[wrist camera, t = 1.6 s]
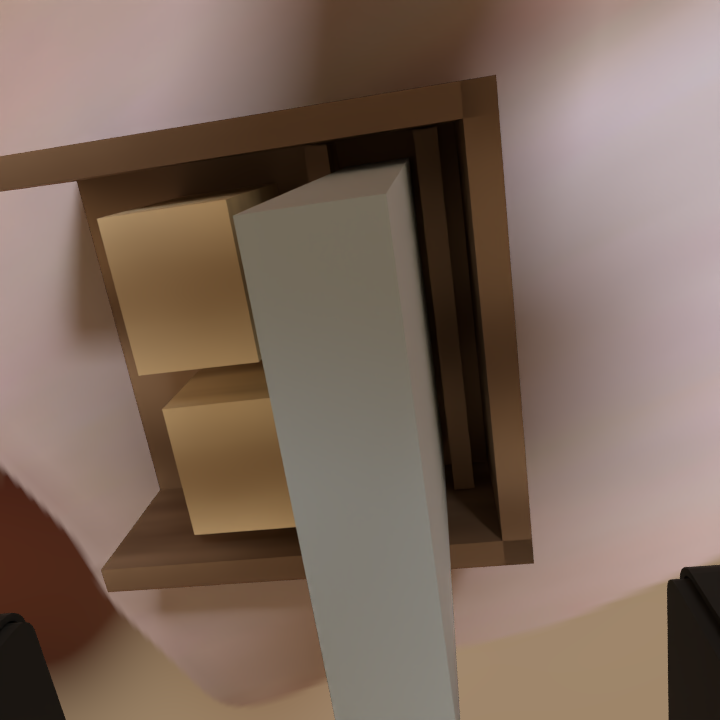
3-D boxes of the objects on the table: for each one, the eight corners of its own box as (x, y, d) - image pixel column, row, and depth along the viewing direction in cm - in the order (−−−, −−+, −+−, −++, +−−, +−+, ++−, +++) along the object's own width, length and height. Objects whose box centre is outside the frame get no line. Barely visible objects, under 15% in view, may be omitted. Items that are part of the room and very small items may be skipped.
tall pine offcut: (178, 197, 26) (96, 218, 20) (276, 182, 26) (225, 199, 19) (206, 318, 28) (138, 375, 21) (298, 306, 27) (259, 362, 21)
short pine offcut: (214, 354, 28) (162, 409, 23) (305, 343, 28) (275, 397, 22) (238, 459, 30) (194, 535, 24) (324, 450, 29) (301, 526, 24)
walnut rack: (82, 154, 27) (-28, 161, 21) (477, 90, 25) (495, 75, 18) (173, 497, 32) (107, 592, 25) (509, 468, 30) (533, 563, 23)
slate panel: (346, 166, 25) (232, 216, 10) (409, 157, 25) (385, 193, 10) (388, 449, 29) (349, 790, 14) (443, 444, 29) (464, 787, 14)
